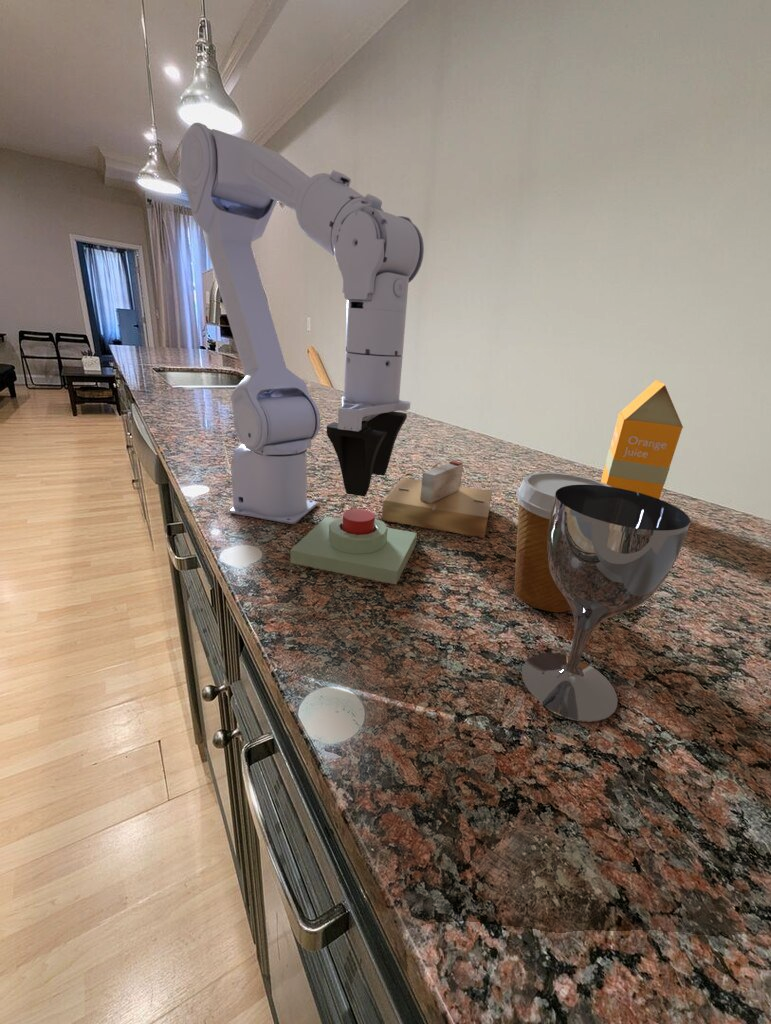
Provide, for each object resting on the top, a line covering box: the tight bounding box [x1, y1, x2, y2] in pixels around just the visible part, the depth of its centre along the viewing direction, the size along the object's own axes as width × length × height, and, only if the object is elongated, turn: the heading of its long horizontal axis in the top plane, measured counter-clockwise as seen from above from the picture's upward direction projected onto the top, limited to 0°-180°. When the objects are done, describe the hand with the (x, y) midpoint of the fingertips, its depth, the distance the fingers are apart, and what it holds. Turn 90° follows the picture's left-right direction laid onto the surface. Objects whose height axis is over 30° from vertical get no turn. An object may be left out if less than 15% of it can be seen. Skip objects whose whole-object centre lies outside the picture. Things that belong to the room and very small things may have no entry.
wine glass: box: [521, 485, 691, 723], centre depth 32 cm, size 8×8×15 cm
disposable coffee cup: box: [513, 471, 611, 613], centre depth 44 cm, size 10×10×12 cm
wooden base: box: [381, 477, 493, 538], centre depth 64 cm, size 14×12×3 cm
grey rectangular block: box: [420, 460, 464, 503], centre depth 63 cm, size 8×2×4 cm, turn 142°
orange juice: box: [600, 379, 684, 499], centre depth 69 cm, size 8×9×20 cm
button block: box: [289, 516, 418, 585], centre depth 51 cm, size 12×10×4 cm
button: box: [342, 508, 376, 535], centre depth 50 cm, size 4×4×2 cm
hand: (367, 483), depth 50 cm, fingers open, 7 cm apart
